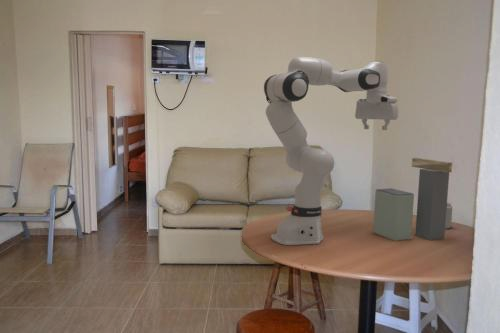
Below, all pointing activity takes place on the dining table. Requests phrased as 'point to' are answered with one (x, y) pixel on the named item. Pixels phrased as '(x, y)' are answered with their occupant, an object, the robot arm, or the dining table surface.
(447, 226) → the can
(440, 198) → the pedestal
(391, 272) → the dining table surface
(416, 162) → the bar
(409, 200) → the grey block
